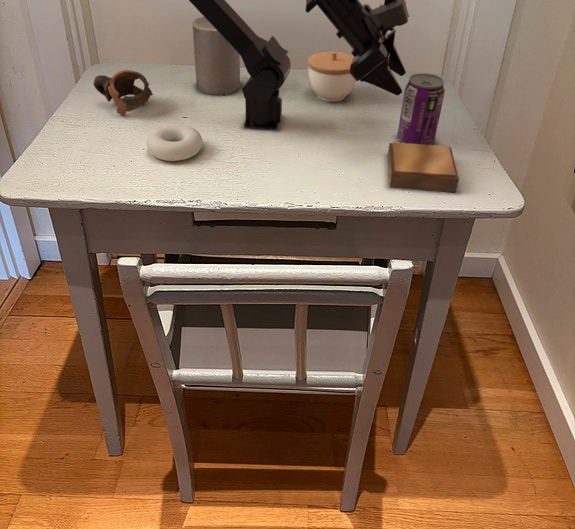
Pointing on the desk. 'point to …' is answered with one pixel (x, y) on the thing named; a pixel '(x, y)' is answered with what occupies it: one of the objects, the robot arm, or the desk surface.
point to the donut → (174, 142)
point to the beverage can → (421, 109)
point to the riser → (422, 167)
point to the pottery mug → (124, 90)
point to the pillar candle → (214, 60)
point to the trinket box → (330, 75)
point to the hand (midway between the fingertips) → (402, 83)
